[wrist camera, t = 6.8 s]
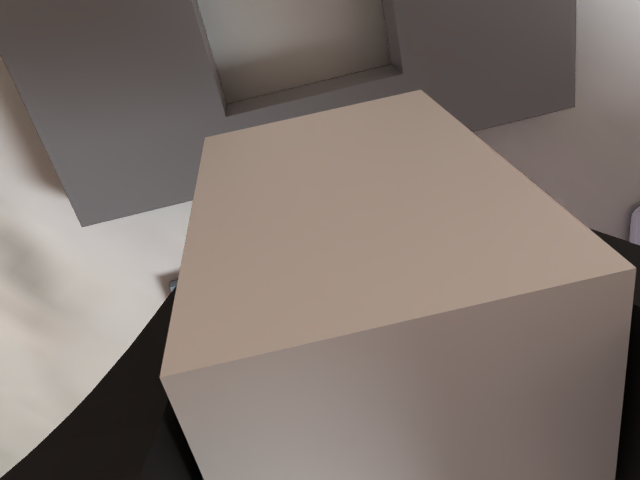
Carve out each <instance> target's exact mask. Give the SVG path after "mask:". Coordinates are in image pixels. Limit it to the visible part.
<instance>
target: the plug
mask: <svg viewBox="0 0 640 480" xmlns="http://www.w3.org/2000/svg"><path fill="white" fill-rule="evenodd" d="M635 277H636V267H635V266H634V265H632V264H631V263H630V262H629V261H628V260H626V259H625V258H624V257H623V256H621V255H620V254H619V253H618V252H617V251H615V250H614V249H613V248H612V247H611V246H609V245H608V244H607V243H606V242H605V241H603V240H602V239H601V238H600V237H599V236H597V235H596V234H595V233H594V232H592V231H591V230H590V229H589V228H588V227H586V226H585V225H584V224H583V223H582V222H580V221H579V220H578V219H577V218H576V217H574V216H573V215H572V214H571V213H570V212H568V211H567V210H566V209H565V208H563V207H562V206H561V205H560V204H559V203H557V202H556V201H555V200H554V199H553V198H551V197H550V196H549V195H548V194H547V193H545V192H544V191H543V190H542V189H540V188H539V187H538V186H537V185H536V184H534V183H533V182H532V181H531V180H530V179H528V178H527V177H526V176H525V175H524V174H522V173H521V172H520V171H519V170H518V169H516V168H515V167H514V166H513V165H511V164H510V163H509V162H508V161H507V160H505V159H504V158H503V157H502V156H501V155H499V154H498V153H497V152H496V151H495V150H493V149H492V148H491V147H490V146H489V145H487V144H486V143H485V142H484V141H482V140H481V139H480V138H479V137H478V136H476V135H475V134H474V133H473V132H472V131H470V130H469V129H468V128H467V127H466V126H464V125H463V124H462V123H461V122H459V121H458V120H457V119H456V118H455V117H453V116H452V115H451V114H450V113H449V112H447V111H446V110H445V109H444V108H443V107H441V106H440V105H439V104H438V103H437V102H435V101H434V100H433V99H432V98H430V97H429V96H428V95H427V94H426V93H424V92H423V91H422V90H417V91H412V92H408V93H403V94H399V95H394V96H390V97H385V98H381V99H376V100H372V101H367V102H363V103H358V104H354V105H349V106H345V107H340V108H336V109H331V110H327V111H322V112H318V113H313V114H309V115H304V116H300V117H295V118H291V119H286V120H282V121H277V122H273V123H268V124H264V125H259V126H255V127H250V128H246V129H241V130H237V131H232V132H228V133H223V134H219V135H214V136H210V137H205V140H204V145H203V151H202V156H201V161H200V166H199V172H198V177H197V182H196V188H195V193H194V198H193V203H192V209H191V214H190V219H189V224H188V230H187V235H186V240H185V246H184V251H183V256H182V261H181V267H180V272H179V277H178V283H177V288H176V293H175V298H174V304H173V309H172V314H171V320H170V325H169V330H168V335H167V341H166V346H165V351H164V357H163V362H162V367H161V372H160V380H161V382H162V384H163V387H164V389H165V391H166V393H167V396H168V398H169V400H170V403H171V405H172V407H173V410H174V412H175V414H176V416H177V419H178V421H179V423H180V426H181V428H182V430H183V433H184V435H185V437H186V439H187V442H188V444H189V446H190V449H191V451H192V453H193V456H194V458H195V460H196V462H197V465H198V467H199V469H200V472H201V474H202V476H203V478H204V480H615V475H616V465H617V455H618V445H619V435H620V426H621V416H622V406H623V396H624V386H625V376H626V366H627V356H628V346H629V336H630V327H631V317H632V307H633V297H634V287H635Z"/></svg>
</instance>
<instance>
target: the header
mask: <svg viewBox="0 0 640 480" xmlns="http://www.w3.org/2000/svg"><path fill="white" fill-rule="evenodd" d="M382 3H383V10H384V17H385V24H386V31H387V38H388V45H389V53H390V60H391V65H387V66H382V67H378V68H374V69H370V70H366V71H362V72H358V73H354V74H349V75H345V76H341V77H337V78H333V79H329V80H325V81H320V82H316V83H312V84H308V85H304V86H300V87H296V88H291V89H287V90H283V91H279V92H275V93H271V94H267V95H263V96H258V97H254V98H250V99H246V100H242V101H238V102H234V103H229V104H227V103H226V100H225V97H224V93H223V90H222V86H221V83H220V79H219V76H218V73H217V69H216V66H215V62H214V59H213V55H212V52H211V49H210V45H209V42H208V38H207V35H206V31H205V28H204V25H203V21H202V18H201V14H200V11H199V7H198V4H197V1H196V0H0V54H1V56H2V58H3V61H4V63H5V65H6V67H7V69H8V71H9V73H10V75H11V78H12V80H13V82H14V84H15V86H16V88H17V90H18V92H19V95H20V97H21V99H22V101H23V103H24V105H25V107H26V109H27V112H28V114H29V116H30V118H31V120H32V122H33V124H34V126H35V129H36V131H37V133H38V135H39V137H40V139H41V141H42V143H43V146H44V148H45V150H46V152H47V154H48V156H49V158H50V160H51V163H52V165H53V167H54V169H55V171H56V173H57V175H58V177H59V179H60V182H61V184H62V186H63V188H64V190H65V192H66V194H67V196H68V199H69V201H70V203H71V205H72V207H73V209H74V211H75V213H76V216H77V218H78V220H79V222H80V224H81V226H82V227H85V226H89V225H93V224H97V223H101V222H105V221H109V220H114V219H118V218H122V217H126V216H130V215H134V214H138V213H142V212H146V211H150V210H155V209H159V208H163V207H167V206H171V205H175V204H179V203H183V202H187V201H191V200H193V198H194V193H195V188H196V182H197V177H198V172H199V166H200V161H201V156H202V151H203V145H204V140H205V137H210V136H214V135H219V134H223V133H228V132H232V131H237V130H241V129H246V128H250V127H255V126H259V125H264V124H268V123H273V122H277V121H282V120H286V119H291V118H295V117H300V116H304V115H309V114H313V113H318V112H322V111H327V110H331V109H336V108H340V107H345V106H349V105H354V104H358V103H363V102H367V101H372V100H376V99H381V98H385V97H390V96H394V95H399V94H403V93H408V92H412V91H417V90H422V91H423V92H424V93H426V94H427V95H428V96H429V97H430V98H432V99H433V100H434V101H435V102H437V103H438V104H439V105H440V106H441V107H443V108H444V109H445V110H446V111H447V112H449V113H450V114H451V115H452V116H453V117H455V118H456V119H457V120H458V121H459V122H461V123H462V124H463V125H464V126H466V127H467V128H468V129H469V130H470V131H472V132H474V131H478V130H482V129H487V128H491V127H495V126H499V125H503V124H507V123H511V122H515V121H519V120H523V119H528V118H532V117H536V116H540V115H544V114H548V113H552V112H556V111H560V110H564V109H569V108H573V107H575V55H576V0H382Z"/></svg>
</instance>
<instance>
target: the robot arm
mask: <svg viewBox="0 0 640 480" xmlns="http://www.w3.org/2000/svg"><path fill="white" fill-rule="evenodd" d="M589 229H590V228H589ZM590 230H591V231H592V232H594V233H595V234H596V235H597V236H599V237H600V238H601V239H602V240H603V241H605V242H606V243H607V244H608V245H609V246H611V247H612V248H613V249H614V250H615V251H617V252H618V253H619V254H620V255H621V256H623V257H624V258H625V259H626V260H628V261H629V262H630V263H631V264H632V265H634V266H635V267H636V277H635V287H634V297H633V307H632V317H631V327H630V336H629V346H628V356H627V366H626V376H625V386H624V396H623V406H622V416H621V426H620V435H619V445H618V455H617V465H616V475H615V480H640V206H639V207H638V208H636V209H635V211H634V212H633V213H632V216H631V224H630V238H629V242H628V241H625V240H622V239H619V238H616V237H613V236H610V235H607V234H604V233H601V232H598V231H595V230H592V229H590ZM176 288H177V285H176V287H175V288H174V289H173V291H172V292H171V293H170V295H169V296H168V297H167V299H166V300H165V301H164V303H163V304H162V305H161V307H160V308H159V310H158V311H157V312H156V314H155V315H154V316H153V317H152V319H151V320H150V321H149V323H148V324H147V325H146V327H145V328H144V329H143V330H142V332H141V333H140V334H139V336H138V337H137V338H136V340H135V341H134V342H133V343H132V345H131V346H130V347H129V348H128V350H127V351H126V352H125V353H124V354H123V355H122V357H121V358H120V359H119V360H118V361H117V362H116V364H115V365H114V366H113V367H112V368H111V369H110V371H109V372H108V373H107V374H106V375H105V376H104V378H103V379H102V380H101V381H100V382H99V383H98V385H97V386H96V387H95V388H94V389H93V390H92V392H91V393H90V394H89V395H88V396H87V397H86V398H85V399H84V400H83V401H82V402H81V403H80V404H79V405H78V406H77V408H76V409H75V410H74V411H73V412H72V413H71V414H70V415H69V416H68V417H67V418H66V419H65V420H64V421H63V422H62V423H61V424H60V425H59V426H58V427H57V428H55V429H54V430H53V431H52V432H51V433H50V434H49V435H48V436H47V437H46V438H45V439H44V440H43V441H42V442H41V443H40V444H39V445H38V446H37V447H36V448H35V449H34V450H32V451H31V452H30V453H29V454H28V455H27V456H26V457H25V458H23V459H22V460H21V461H20V462H19V463H18V464H16V465H15V466H14V467H13V468H12V469H11V470H9V471H8V472H7V473H6V474H5V475H4V476H2V477H1V478H0V480H204V478H203V476H202V474H201V472H200V469H199V467H198V465H197V462H196V460H195V458H194V456H193V453H192V451H191V449H190V446H189V444H188V442H187V439H186V437H185V435H184V433H183V430H182V428H181V426H180V423H179V421H178V419H177V416H176V414H175V412H174V410H173V407H172V405H171V403H170V400H169V398H168V396H167V393H166V391H165V389H164V387H163V384H162V382H161V380H160V372H161V367H162V362H163V357H164V351H165V346H166V341H167V335H168V330H169V325H170V320H171V314H172V309H173V304H174V298H175V293H176Z"/></svg>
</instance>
